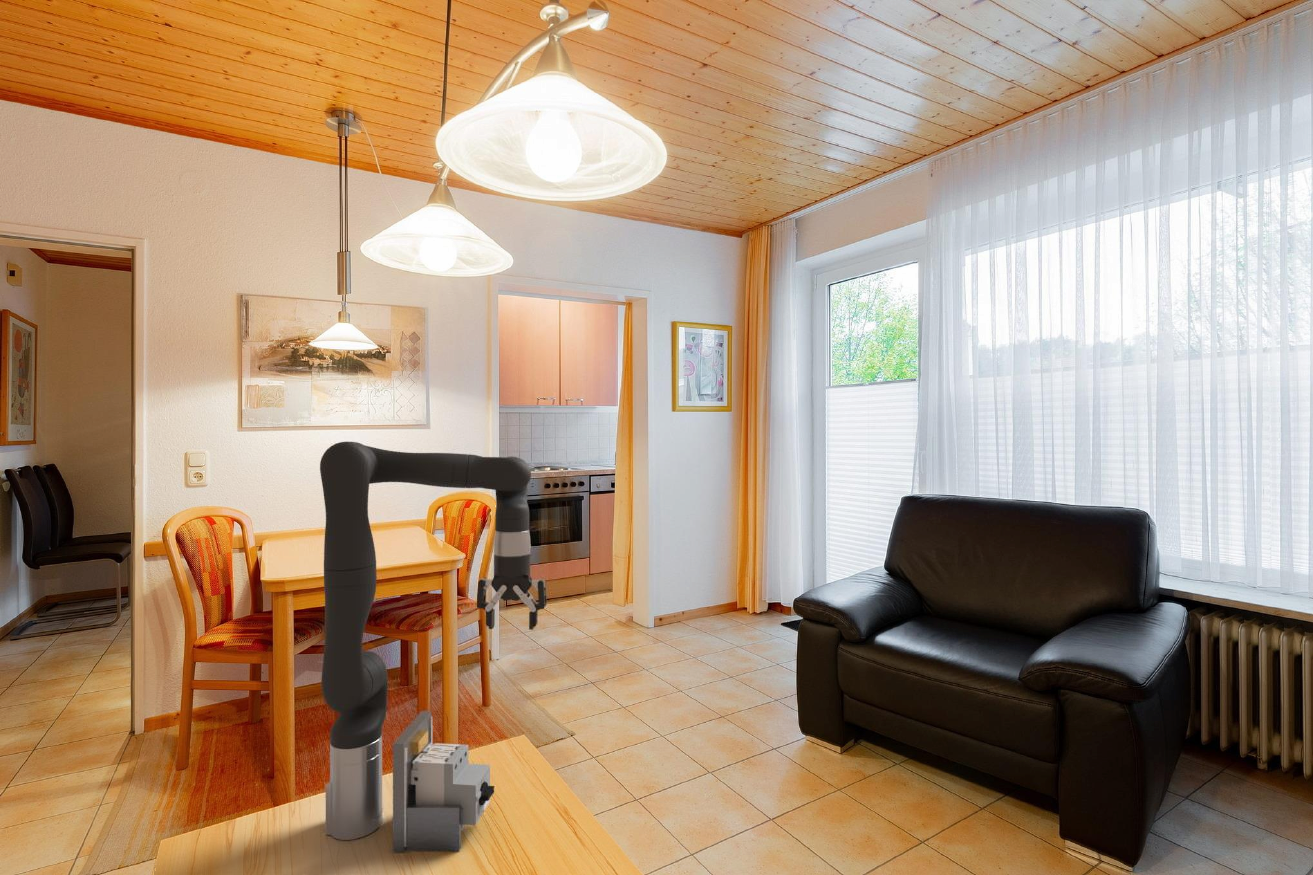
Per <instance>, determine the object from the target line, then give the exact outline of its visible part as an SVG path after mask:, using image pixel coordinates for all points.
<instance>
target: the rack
mask: <svg viewBox="0 0 1313 875" xmlns="http://www.w3.org/2000/svg"><path fill="white" fill-rule="evenodd" d="M430 743H431V744H433V716H432V710H421V711H420V712H419V713H418V714H417V715H416V717H414V719H413V720H412V721H411V723H410V724H409V725H408V726H407V727H406V728H405V729H404V730H403V731H402V733H401V734H400V735H399V736H398V737H397V739H396V740H395V741H394V742H393V743H392V854H405V852H460V850H461V849H462V830H461V805H416V785H413V784H411V770H412V768H413V764H412V762H413V761H414V760H415V759H416V758H417V757H418V756H419V755H420V753H422V752H423V750H424V749H425V748H426V747H427V746H428V745H429V744H430ZM415 778H416V777H414V779H415Z"/></svg>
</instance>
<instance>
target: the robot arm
mask: <svg viewBox="0 0 1313 875" xmlns="http://www.w3.org/2000/svg"><path fill="white" fill-rule="evenodd" d="M319 471H320V472H319V474H320V479H321V485H322V492H323V499H324V500H323V501H324V509H325V529H324V530H325V531H324V541H323V542H324V544H323V588H324V646H323V647H324V650H323V659H322V669H321V680H320V681H321V682H320V683H321V693H322V694H321V695H322V697H323V700H324V702H325V704H326V706H328V708H330V710H331V711H333V712H336V713H338V716H337V718H336V720H335V721H334V722H333V724H332V726H331V729H330V733H329V742H330V746H329V749H330V750H329V752H330V754H329V756H330V759H329V763H330V764H329V766H330V767H329V771H330V774H329V778H330V779H329V781H328V782H327V783H326V784H325V836H332V837H333V839H337V840H341V841H349V840H356V839H359V838H363V837H365V836H368V835H370V834H372V833H373V832H375V831H376V830H378V828H379V827H380V826H381V825H382V823H383V726H384V723H385V720H386V718H387V712H388V711H387V708H388V707H387V706H388V688H389V685H388V684H389V682H388V681H389V678H388V677H389V676H388V670H387V666H386V662H384V660H383V658H382V657H381V656H380V655H379V654H377V653H376V652H374V651H369V650H363V641H364V640H363V638H364V632H365V628H366V624H367V621H368V618H369V615H370V612H371V610H372V606H373V603H374V601H375V600H374V599H375V595H376V592H377V580H378V579H377V578H378V577H377V556H376V554H377V553H376V547H375V544H374V543H375V542H374V541H375V540H374V536H373V533H372V530H371V529H372V528H371V524H370V519H369V509H368V508H369V490H370V484H381V483H404V484H405V483H406V484H407V483H408V484H416V485H424V486H430V487H439V488H451V489H452V488H454V489H455V488H457V489H486V490H493V491H495V499H496V500H495V501H496V504H495V505H496V507H495V515H494V516H495V517H494V518H495V521H494V522H495V523H494V525H495V526H494V527H495V528H494V529H495V531H494V532H495V533H494V538H493V577H492V579H487V578H486V577H482V578H480V579H479V580H478V582H477V593H476V596H477V598H476V608H477V609H481V610H483V611H485V625H486V627H488V630H493V629H494V627H495V626H496V625H495V624H496V623H495V621H496V620H495V614H496V611H495V610H496V609H495V606H496V604H498V602H499V601H500V600H501V599H502V600H503V601H507V602H508V601H515V602H516V601H517V602H518V601H520V600H521V601H522V602H523V604H524V605H525V606H526V607H527V608H528V609H529V613H528V614H529V616H528V622H529V623H528V626H529V627H528V628H529V630H530V631H531V630H532V631H533V630H534V629H535V628H536V626H537V625H538V618H539V617H538V612H539V610H544V609H545V607H546V606H547V599H548V598H547V583H546V579H545V578H540V579H532V577H531V550H532V544H531V535H530V534H531V533H530V507H529V504H528V484H529V483H530V481H531V479H532V478H531V477H532V470H531V468H530V466H529V464H528V463H527V462H526V460H524V459H523V458H519V457H517V456H507V457H506V456H505V457H504V456H503V457H501V456H482V455H476V454H469V453H467V454H466V453H454V452H453V453H452V452H451V453H450V452H406V451H395V450H388V449H383V448H378V447H373V446H369V445H365V444H362V443H360V442H357V441H340V442H337V443H334V444H332V445H331V446H329V447H327V449H326V450H325V451H324V453H323V455H322V456H321V460H320V462H319ZM490 587H491V588H493V590H494V591H495V592H496V593H495V594H494V596H492V598H491V600H490V601H489V602H487V590H489V588H490ZM531 587H534V590H535V591H537V597H538V598H537V599H538V602H537V601H536V600H535V598H534V596H533V595H532V594H531V593H530V591H529V590H530V589H531Z"/></svg>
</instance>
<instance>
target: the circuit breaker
mask: <svg viewBox="0 0 1313 875" xmlns="http://www.w3.org/2000/svg"><path fill="white" fill-rule="evenodd" d="M412 764H413V768H412V770H411V784H413V785H416V805H461V831H463V829H464V827H465V826H477V823H478V822H479V820H480V819H481V817H482V816H483V813H484V812H485V811H486V809H487V807H489V804H490V803H491V797H492V796H493V795H494V793H495V785H491V768H490V767H491V765H490V764H480V763H479V764H478V763H469V744H457V743H456V744H455V743H438V742H437V743H436V742H435V743H432V744H431V743H430V744H429V745H428V746H427V747H426V748H425V749H424V750H423V752H422V753H420V755H419V756H418V757H417V758H416V759H415V760H414V761H413V762H412ZM414 777H416V778H415V779H414Z"/></svg>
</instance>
